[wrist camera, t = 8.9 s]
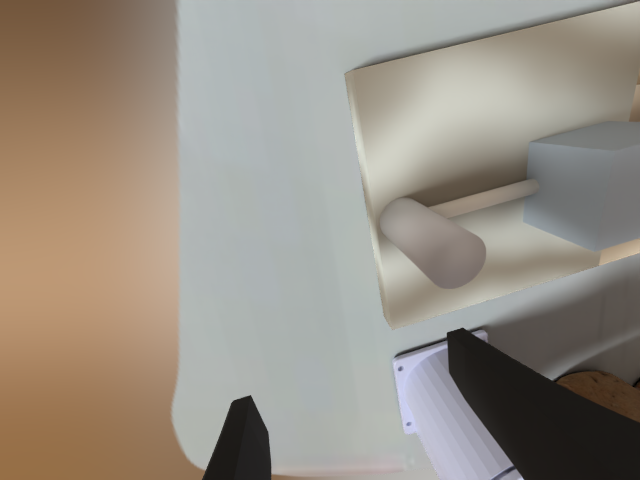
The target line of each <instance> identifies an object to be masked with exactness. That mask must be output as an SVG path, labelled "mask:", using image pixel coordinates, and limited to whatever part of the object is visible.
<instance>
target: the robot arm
mask: <svg viewBox="0 0 640 480" xmlns="http://www.w3.org/2000/svg"><path fill="white" fill-rule="evenodd" d="M400 366H401V367H400ZM393 369H394V375H395V381H396V387H397V394H398V400H399V406H400V412H401V418H402V425H403V430H404V432H405V434H412V433H415V432H417V434H418V436H419V438H420V440H421V442H422V444H423V446H424V449H425V451H426V453H427V455H428V457H429V459H430V461H431V463H432V465H433V467H434V469H435V471H436V473H437V475H438V477H439V479H440V480H640V422H637V421H635V420H633V419H630V418H628V417H626V416H624V415H621V414H619V413H617V412H615V411H612V410H610V409H608V408H606V407H604V406H602V405H599V404H597V403H595V402H593V401H591V400H589V399H587V398H585V397H583V396H581V395H578V394H576V393H575V392H573V391H571V390H569V389H567V388H565V387H563V386H561V385H559V384H557V383H555V382H553V381H552V380H550V379H548V378H546V377H544V376H542V375H541V374H539V373H537V372H535V371H533V370H532V369H530V368H528V367H527V366H525V365H523V364H521V363H520V362H518V361H516V360H514V359H513V358H511V357H509V356H508V355H506V354H504V353H503V352H501V351H500V350H498V349H496V348H495V347H493V346H491V345H490V344H488V334H487V333H486V332H485V331H484V330H478V331H475V332H472V333H470V332H469V331H467V330H466V329H464V328H460V329H457V330H454V331H451V332H448V333H447V341H444V342H441V343H438V344H435V345H431V346H428V347H425V348H422V349H419V350H416V351H413V352H410V353H406V354H403V355H400V356H397V357H395V358H394V360H393ZM202 480H271V457H270V446H269V435H268V431H267V429H266V426H265V424H264V422H263V420H262V418H261V416H260V414H259V412H258V410H257V407H256V405H255V403H254V401H253V399H252V397H251V395H250V396H246V397H243V398H240V399H237V400H234V401H233V402H232V403H231V406H230V409H229V411H228V414H227V417H226V420H225V423H224V425H223V428H222V431H221V434H220V436H219V439H218V441H217V444H216V447H215V449H214V452H213V454H212V457H211V459H210V462H209V464H208V466H207V469H206V471H205V474H204V476H203V479H202Z"/></svg>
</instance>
